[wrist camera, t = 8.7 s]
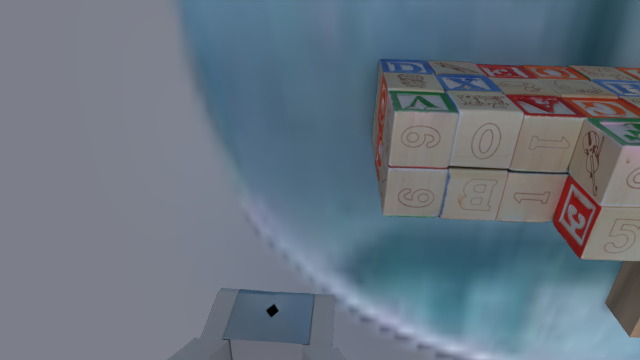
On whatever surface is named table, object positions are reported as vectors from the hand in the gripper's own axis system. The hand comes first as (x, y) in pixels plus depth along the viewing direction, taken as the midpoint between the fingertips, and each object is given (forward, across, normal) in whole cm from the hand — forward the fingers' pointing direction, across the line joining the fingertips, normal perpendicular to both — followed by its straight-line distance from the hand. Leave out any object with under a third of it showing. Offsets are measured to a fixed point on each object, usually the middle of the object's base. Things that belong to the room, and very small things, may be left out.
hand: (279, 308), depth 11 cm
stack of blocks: (+21, -14, +2) cm, 25 cm away
